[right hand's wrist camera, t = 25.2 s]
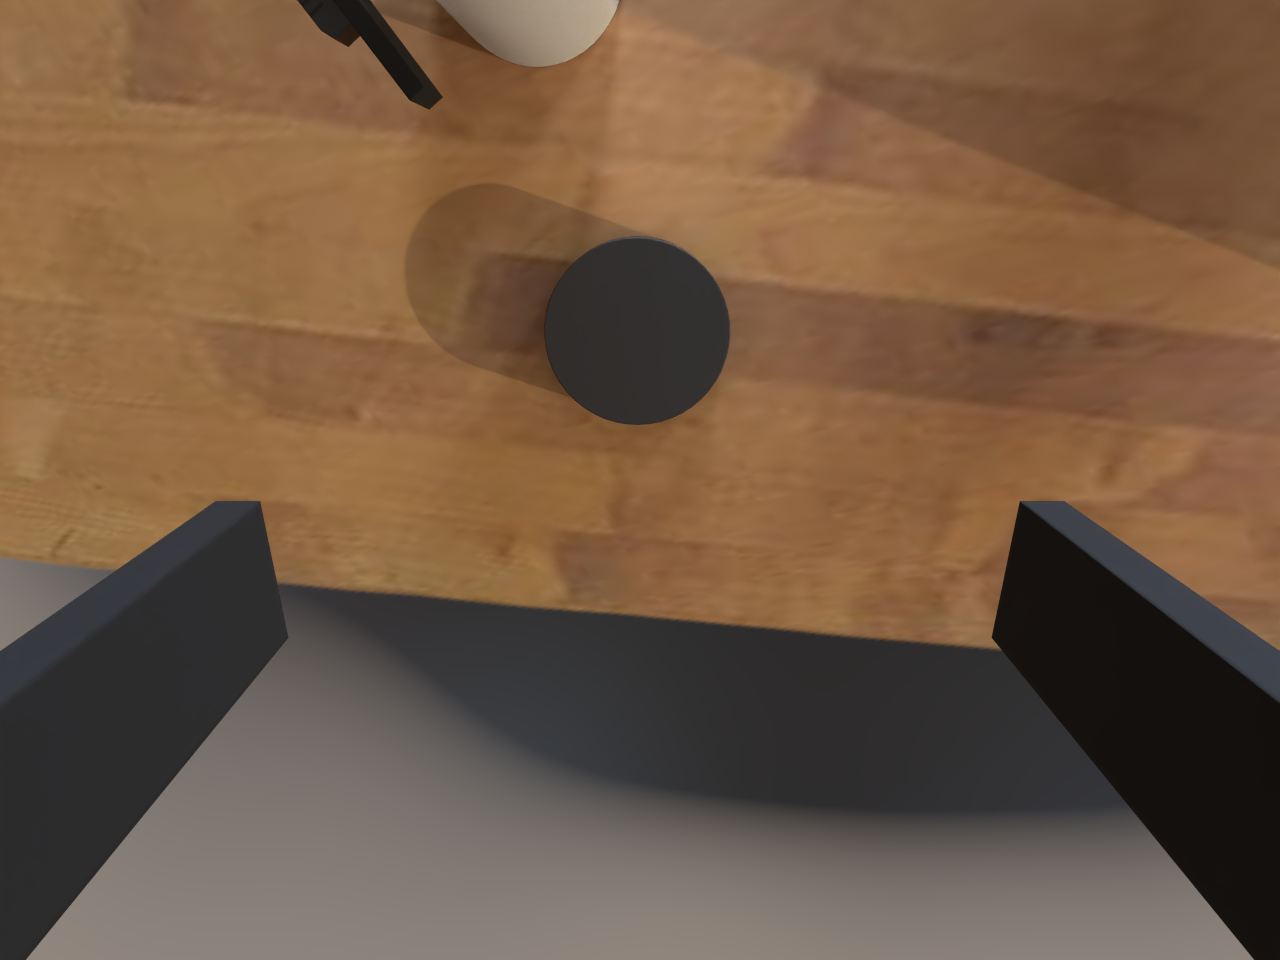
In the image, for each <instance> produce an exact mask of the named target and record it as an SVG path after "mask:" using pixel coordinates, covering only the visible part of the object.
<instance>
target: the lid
mask: <svg viewBox="0 0 1280 960" xmlns="http://www.w3.org/2000/svg"><path fill="white" fill-rule="evenodd" d="M729 340H730V321H729V315H728V310H727V306H726V303H725V299H724V297H723V295H722V292H721V290H720V288H719V286H718V285H717V283H716V281H715V280H714V278H713V277H712V275H711V274H710V273H709V272H708V270H707V269H706V268H705V267H704V266H703V265H702V264H701V263H700V262H699V261H698V260H697V259H696V258H695V257H693V256H692V255H691V254H689V253H688V252H687V251H685V250H684V249H682V248H680V247H678V246H676V245H674V244H672V243H669V242H667V241H664V240H661V239H656V238H651V237H641V236H633V237H623V238H618V239H614V240H611V241H608V242H605V243H602V244H600V245H598V246H597V247H595V248H593V249H591V250H589V251H588V252H587V253H585V254H584V255H583V256H581V257H580V258H579V259H578V260H577V261H576V262H575V263H573V264H572V265H571V266H570V267H569V268H568V270H567V271H566V272H565V273H564V275H563V276H562V277H561V279H560V280H559V282H558V284H557V285H556V287H555V289H554V291H553V294H552V296H551V298H550V301H549V305H548V308H547V312H546V319H545V344H546V350H547V354H548V358H549V361H550V364H551V366H552V369H553V371H554V373H555V375H556V377H557V379H558V380H559V382H560V383H561V385H562V386H563V388H564V389H565V390H566V392H567V393H568V394H569V395H570V396H571V397H572V398H573V399H574V400H575V401H576V402H578V403H579V404H580V405H581V406H582V407H584V408H585V409H587V410H589V411H590V412H592V413H593V414H595V415H598V416H600V417H602V418H604V419H607V420H610V421H614V422H618V423H623V424H634V425H641V424H652V423H657V422H661V421H664V420H667V419H671V418H673V417H675V416H677V415H679V414H681V413H683V412H685V411H686V410H688V409H689V408H691V407H692V406H694V405H695V404H696V403H697V402H698V401H700V400H701V399H702V398H703V397H704V396H705V394H706V393H707V392H708V391H709V390H710V389H711V387H712V386H713V384H714V383H715V382H716V380H717V378H718V376H719V374H720V373H721V371H722V368H723V366H724V363H725V360H726V357H727V353H728V348H729Z"/></svg>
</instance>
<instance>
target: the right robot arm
mask: <svg viewBox="0 0 1280 960" xmlns="http://www.w3.org/2000/svg"><path fill="white" fill-rule="evenodd" d="M287 639H288V634H287V629H286V624H285V619H284V615H283V610H282V605H281V600H280V595H279V590H278V586H277V581H276V576H275V571H274V566H273V561H272V557H271V552H270V547H269V542H268V537H267V532H266V528H265V523H264V518H263V513H262V508H261V503H260V501H215V502H214V503H213V504H211V505H210V506H208V507H207V508H205V509H204V510H203V511H201V512H200V513H198V514H197V515H195V516H194V517H192V518H191V519H190V520H188V521H187V522H185V523H184V524H182V525H181V526H180V527H178V528H177V529H175V530H174V531H172V532H171V533H169V534H168V535H167V536H165V537H164V538H162V539H161V540H159V541H158V542H157V543H155V544H154V545H152V546H151V547H149V548H148V549H146V550H145V551H144V552H142V553H141V554H139V555H138V556H136V557H135V558H134V559H132V560H131V561H129V562H128V563H126V564H125V565H123V566H122V567H121V568H119V569H118V570H116V571H115V572H113V573H112V574H111V575H109V576H108V577H106V578H105V579H103V580H102V581H100V582H99V583H98V584H96V585H95V586H93V587H92V588H90V589H89V590H88V591H86V592H85V593H83V594H82V595H80V596H79V597H77V598H76V599H75V600H73V601H72V602H70V603H69V604H67V605H66V606H65V607H63V608H62V609H60V610H59V611H57V612H56V613H54V614H53V615H52V616H50V617H49V618H47V619H46V620H44V621H43V622H41V623H40V624H39V625H37V626H36V627H34V628H33V629H31V630H30V631H29V632H27V633H26V634H24V635H23V636H21V637H20V638H18V639H17V640H16V641H14V642H13V643H11V644H10V645H8V646H7V647H6V648H4V649H3V650H1V651H0V960H26V959H27V957H28V956H29V955H30V954H31V953H32V951H33V950H34V949H35V948H36V947H37V945H38V944H39V943H40V942H41V940H42V939H43V938H44V937H45V935H46V934H47V933H48V932H49V930H50V929H51V928H52V927H53V926H54V924H55V923H56V922H57V921H58V920H59V918H60V917H61V916H62V915H63V913H64V912H65V911H66V910H67V908H68V907H69V906H70V905H71V904H72V902H73V901H74V900H75V899H76V897H77V896H78V895H79V894H80V893H81V891H82V890H83V889H84V888H85V886H86V885H87V884H88V883H89V881H90V880H91V879H92V878H93V877H94V875H95V874H96V873H97V872H98V870H99V869H100V868H101V867H102V866H103V864H104V863H105V862H106V861H107V859H108V858H109V857H110V856H111V854H112V853H113V852H114V851H115V850H116V848H117V847H118V846H119V845H120V843H121V842H122V841H123V840H124V839H125V837H126V836H127V835H128V834H129V832H130V831H131V830H132V829H133V828H134V826H135V825H136V824H137V823H138V821H139V820H140V819H141V818H142V817H143V815H144V814H145V813H146V812H147V810H148V809H149V808H150V807H151V805H152V804H153V803H154V802H155V801H156V799H157V798H158V797H159V796H160V794H161V793H162V792H163V791H164V790H165V788H166V787H167V786H168V785H169V783H170V782H171V781H172V780H173V778H174V777H175V776H176V775H177V774H178V772H179V771H180V770H181V769H182V767H183V766H184V765H185V764H186V763H187V761H188V760H189V759H190V758H191V756H192V755H193V754H194V753H195V751H196V750H197V749H198V748H199V747H200V745H201V744H202V743H203V742H204V740H205V739H206V738H207V737H208V735H209V734H210V733H211V732H212V731H213V729H214V728H215V727H216V726H217V724H218V723H219V722H220V721H221V720H222V718H223V717H224V716H225V715H226V713H227V712H228V711H229V710H230V709H231V707H232V706H233V705H234V704H235V702H236V701H237V700H238V699H239V697H240V696H241V695H242V694H243V693H244V691H245V690H246V689H247V688H248V686H249V685H250V684H251V683H252V682H253V680H254V679H255V678H256V677H257V675H258V674H259V673H260V672H261V670H262V669H263V668H264V667H265V666H266V664H267V663H268V662H269V661H270V659H271V658H272V657H273V656H274V655H275V653H276V652H277V651H278V650H279V648H280V647H281V646H282V645H283V644H284V642H285V641H286V640H287ZM992 639H993V640H994V641H995V642H996V644H997V645H998V646H999V647H1000V648H1001V650H1002V651H1003V652H1004V653H1005V655H1006V656H1007V657H1008V658H1009V659H1010V661H1011V662H1012V663H1013V664H1014V666H1015V667H1016V668H1017V669H1018V671H1019V672H1020V673H1021V674H1022V675H1023V677H1024V678H1025V679H1026V680H1027V681H1028V683H1029V684H1030V685H1031V686H1032V688H1033V689H1034V690H1035V691H1036V693H1037V694H1038V695H1039V696H1040V697H1041V699H1042V700H1043V701H1044V702H1045V704H1046V705H1047V706H1048V707H1049V709H1050V710H1051V711H1052V712H1053V713H1054V715H1055V716H1056V717H1057V718H1058V720H1059V721H1060V722H1061V723H1062V725H1063V726H1064V727H1065V728H1066V729H1067V731H1068V732H1069V733H1070V734H1071V735H1072V737H1073V738H1074V739H1075V740H1076V742H1077V743H1078V744H1079V745H1080V747H1081V748H1082V749H1083V750H1084V751H1085V753H1086V754H1087V755H1088V756H1089V758H1090V759H1091V760H1092V761H1093V763H1094V764H1095V765H1096V766H1097V767H1098V769H1099V770H1100V771H1101V772H1102V774H1103V775H1104V776H1105V777H1106V778H1107V780H1108V781H1109V782H1110V783H1111V785H1112V786H1113V787H1114V788H1115V790H1116V791H1117V792H1118V793H1119V794H1120V796H1121V797H1122V798H1123V799H1124V800H1125V802H1126V803H1127V804H1128V805H1129V807H1130V808H1131V809H1132V810H1133V812H1134V813H1135V814H1136V815H1137V817H1138V818H1139V819H1140V820H1141V821H1142V823H1143V824H1144V825H1145V826H1146V828H1147V829H1148V830H1149V831H1150V832H1151V834H1152V835H1153V836H1154V837H1155V839H1156V840H1157V841H1158V842H1159V843H1160V845H1161V846H1162V847H1163V848H1164V850H1165V851H1166V852H1167V853H1168V855H1169V856H1170V857H1171V858H1172V859H1173V861H1174V862H1175V863H1176V864H1177V866H1178V867H1179V868H1180V869H1181V870H1182V872H1183V873H1184V874H1185V875H1186V877H1187V878H1188V879H1189V880H1190V881H1191V883H1192V884H1193V885H1194V886H1195V888H1196V889H1197V890H1198V891H1199V893H1200V894H1201V895H1202V896H1203V897H1204V899H1205V900H1206V901H1207V902H1208V904H1209V905H1210V906H1211V907H1212V908H1213V910H1214V911H1215V912H1216V913H1217V915H1218V916H1219V917H1220V918H1221V919H1222V921H1223V922H1224V923H1225V924H1226V926H1227V927H1228V928H1229V929H1230V931H1231V932H1232V933H1233V934H1234V935H1235V937H1236V938H1237V939H1238V940H1239V942H1240V943H1241V944H1242V945H1243V946H1244V948H1245V949H1246V950H1247V951H1248V953H1249V954H1250V955H1251V956H1252V958H1253V959H1254V960H1280V651H1279V650H1277V649H1276V648H1274V647H1273V646H1272V645H1270V644H1269V643H1267V642H1266V641H1264V640H1263V639H1262V638H1260V637H1259V636H1257V635H1256V634H1254V633H1253V632H1251V631H1250V630H1249V629H1247V628H1246V627H1244V626H1243V625H1241V624H1240V623H1239V622H1237V621H1236V620H1234V619H1233V618H1231V617H1230V616H1228V615H1227V614H1226V613H1224V612H1223V611H1221V610H1220V609H1218V608H1217V607H1215V606H1214V605H1213V604H1211V603H1210V602H1208V601H1207V600H1205V599H1204V598H1203V597H1201V596H1200V595H1198V594H1197V593H1195V592H1194V591H1192V590H1191V589H1190V588H1188V587H1187V586H1185V585H1184V584H1182V583H1181V582H1180V581H1178V580H1177V579H1175V578H1174V577H1172V576H1171V575H1169V574H1168V573H1167V572H1165V571H1164V570H1162V569H1161V568H1159V567H1158V566H1157V565H1155V564H1154V563H1152V562H1151V561H1149V560H1148V559H1146V558H1145V557H1144V556H1142V555H1141V554H1139V553H1138V552H1136V551H1135V550H1134V549H1132V548H1131V547H1129V546H1128V545H1126V544H1125V543H1123V542H1122V541H1121V540H1119V539H1118V538H1116V537H1115V536H1113V535H1112V534H1111V533H1109V532H1108V531H1106V530H1105V529H1103V528H1102V527H1100V526H1099V525H1098V524H1096V523H1095V522H1093V521H1092V520H1090V519H1089V518H1088V517H1086V516H1085V515H1083V514H1082V513H1080V512H1079V511H1077V510H1076V509H1075V508H1073V507H1072V506H1070V505H1069V504H1067V503H1066V502H1065V501H1020V503H1019V508H1018V513H1017V518H1016V523H1015V527H1014V532H1013V537H1012V542H1011V547H1010V552H1009V557H1008V561H1007V566H1006V571H1005V576H1004V581H1003V586H1002V590H1001V595H1000V600H999V605H998V610H997V615H996V619H995V624H994V629H993V634H992Z"/></svg>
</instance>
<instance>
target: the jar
mask: <svg viewBox="0 0 1280 960" xmlns="http://www.w3.org/2000/svg"><path fill="white" fill-rule="evenodd" d="M436 1H437V2H438V3H439V4H440V5H441V6H442V7H443V8H444V9H445V10H446V11H447V12H448V13H449V14H450V15H451V16H452V17H453V18H454V19H455V20H456V21H457V22H458V23H459V24H460V25H461V26H462V27H463V28H464V29H465V30H466V31H467V32H468V33H469V34H470V35H471V36H472V37H473V38H474V39H475V40H476V41H477V42H478V43H479V44H480V45H482V46H483V47H484V48H485V49H486V50H488V51H489V52H491V53H493V54H494V55H496V56H498V57H500V58H502V59H504V60H506V61H508V62H512V63H515V64H518V65H523V66H529V67H544V66H552V65H556V64H560V63H563V62H566V61H568V60H570V59H572V58H574V57H576V56H578V55H579V54H581V53H582V52H584V51H585V50H587V49H588V48H589V47H590V46H591V45H592V44H593V43H595V41H596V40H597V39H598V38H599V37H600V36H601V35H602V33H603V32H604V31H605V29H606V28H607V26H608V25H609V23H610V21H611V19H612V17H613V15H614V13H615V11H616V9H617V6H618V3H619V1H620V0H436Z"/></svg>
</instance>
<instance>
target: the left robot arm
mask: <svg viewBox="0 0 1280 960" xmlns="http://www.w3.org/2000/svg"><path fill="white" fill-rule="evenodd" d="M298 2H299V3H300V4H301V5H302V6H303V8H304V9H305V11H306V12H307V13H308V14H309V15H310V17H311V18H312V20H313V21H314V22H315V23H316V25H317V26H318V27H319V28H320V30H321V31H323V32H324V33H326V34H327V35H329V36H330V37H332V38H333V39H335V40H337V41H339V42H341V43H342V44H344V45H346V46H348V47H349V46H350V45H351V44H352V43H353V42H354V41H355V40H356V39H357V38H358V37H359V36H361V37H362V39H363V40H364V41H365V43H366V44H367V45H368V46H369V48H370V49H371V50H372V52H373V53H374V54H375V56H376V57H377V58H378V60H379V61H380V62H381V63H382V65H383V66H384V67H385V69H386V70H387V71H388V73H389V74H390V75H391V77H392V78H393V79H394V80H395V82H396V83H397V84H398V86H399V87H400V88H401V90H402V91H403V92H404V93H405V95H406V96H407V97H408V99H409V100H410V101H412V102H414V103H417V104H419V105H421V106H423V107H425V108H427V109H430V108H431V107H433V106H434V105H435V104H436V103H437V102H438V101H439V100H440V99H441V98H443V97H442V96H441V94H440V93H439V92H438V90H437V89H436V88H435V86H434V85H433V84H432V82H431V81H430V80H429V78H428V77H427V76H426V74H425V73H424V72H423V70H422V69H421V68H420V66H419V65H418V64H417V62H416V61H415V60H414V58H413V57H412V56H411V54H410V53H409V52H408V50H407V49H406V48H405V46H404V45H403V44H402V42H401V41H400V40H399V38H398V37H397V36H396V34H395V33H394V32H393V30H392V29H391V28H390V26H389V25H388V24H387V22H386V21H385V20H384V18H383V17H382V16H381V14H380V13H379V12H378V10H377V9H376V8H375V6H374V5H373V4H372V2H371V1H370V0H298Z"/></svg>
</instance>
